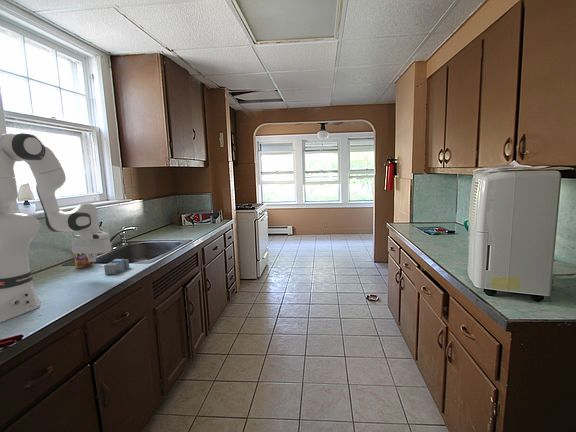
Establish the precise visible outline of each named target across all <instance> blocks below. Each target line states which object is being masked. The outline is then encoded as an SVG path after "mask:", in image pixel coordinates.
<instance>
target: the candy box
mask: <svg viewBox="0 0 576 432" xmlns="http://www.w3.org/2000/svg"><path fill="white" fill-rule="evenodd" d="M91 256H92V258H93V255H92V253H91ZM73 257H74V264H75V265H74V266H75V269H76V270H77V269H82V268H88V267H94V262H89V259H88V257H87V256H86V253H73Z"/></svg>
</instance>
